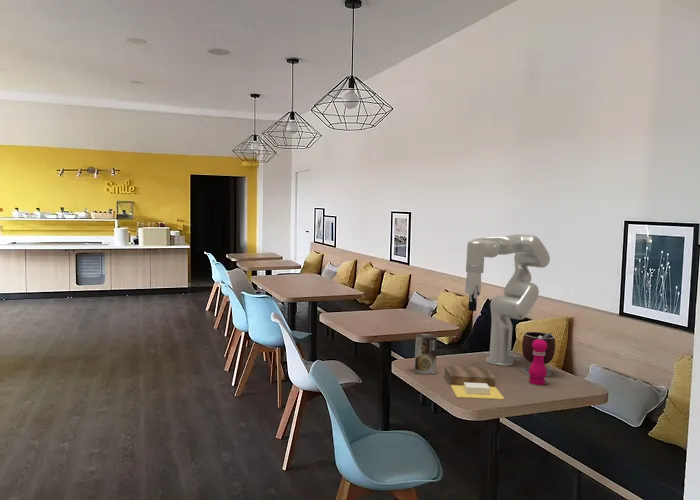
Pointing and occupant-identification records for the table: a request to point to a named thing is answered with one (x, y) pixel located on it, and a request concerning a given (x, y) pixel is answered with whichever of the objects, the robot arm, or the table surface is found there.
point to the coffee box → (425, 353)
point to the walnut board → (469, 375)
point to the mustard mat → (462, 394)
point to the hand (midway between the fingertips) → (472, 310)
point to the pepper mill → (538, 362)
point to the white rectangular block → (476, 388)
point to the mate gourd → (528, 349)
